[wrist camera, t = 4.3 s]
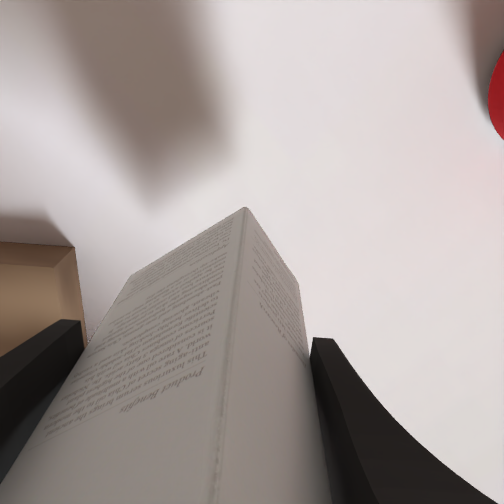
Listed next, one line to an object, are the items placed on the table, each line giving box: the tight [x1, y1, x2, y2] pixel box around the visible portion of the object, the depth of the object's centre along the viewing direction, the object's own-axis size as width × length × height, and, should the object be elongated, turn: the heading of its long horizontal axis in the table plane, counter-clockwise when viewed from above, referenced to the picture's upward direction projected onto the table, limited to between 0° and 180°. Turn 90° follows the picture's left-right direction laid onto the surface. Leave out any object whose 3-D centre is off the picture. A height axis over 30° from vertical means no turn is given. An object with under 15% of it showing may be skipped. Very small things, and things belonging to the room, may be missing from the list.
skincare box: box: [0, 207, 332, 504], centre depth 12 cm, size 6×4×12 cm
